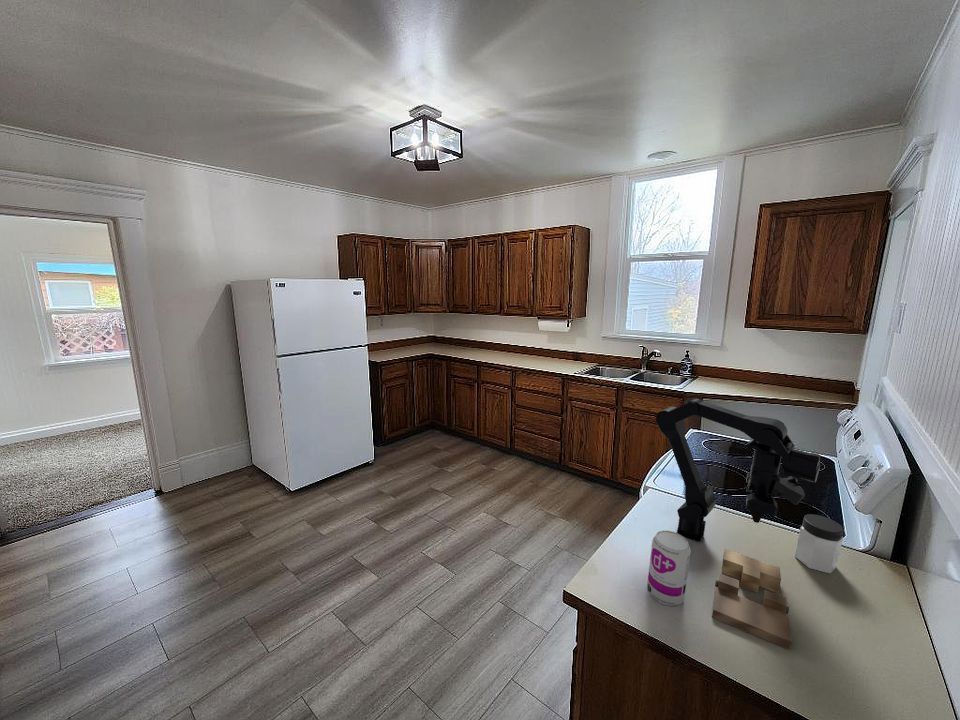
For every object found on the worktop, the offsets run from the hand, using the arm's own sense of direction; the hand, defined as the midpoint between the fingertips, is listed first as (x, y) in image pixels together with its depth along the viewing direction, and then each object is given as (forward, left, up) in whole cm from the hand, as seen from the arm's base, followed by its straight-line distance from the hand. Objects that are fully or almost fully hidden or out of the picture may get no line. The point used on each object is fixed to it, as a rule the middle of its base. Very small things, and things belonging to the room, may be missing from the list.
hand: (755, 520), depth 104 cm
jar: (+15, +9, -12) cm, 22 cm away
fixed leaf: (0, -22, -12) cm, 25 cm away
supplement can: (-17, -27, -12) cm, 34 cm away
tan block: (0, -9, -12) cm, 15 cm away
